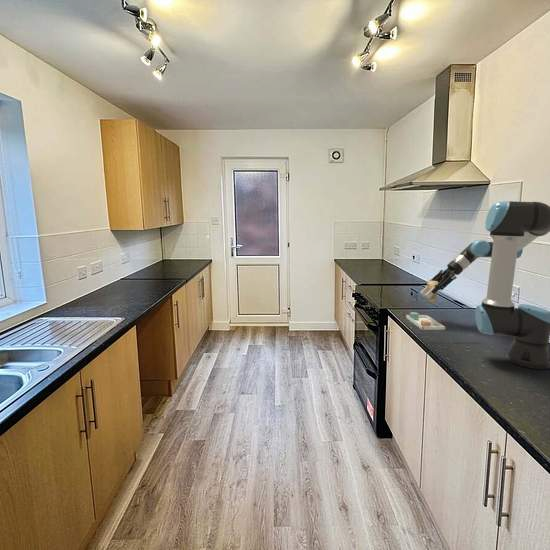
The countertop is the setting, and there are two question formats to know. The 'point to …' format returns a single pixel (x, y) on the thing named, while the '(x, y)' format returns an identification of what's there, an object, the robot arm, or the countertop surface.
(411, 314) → the teal block
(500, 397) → the countertop surface
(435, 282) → the turned wooden pepper mill
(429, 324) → the terracotta block
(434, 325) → the parts tray
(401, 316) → the countertop surface
